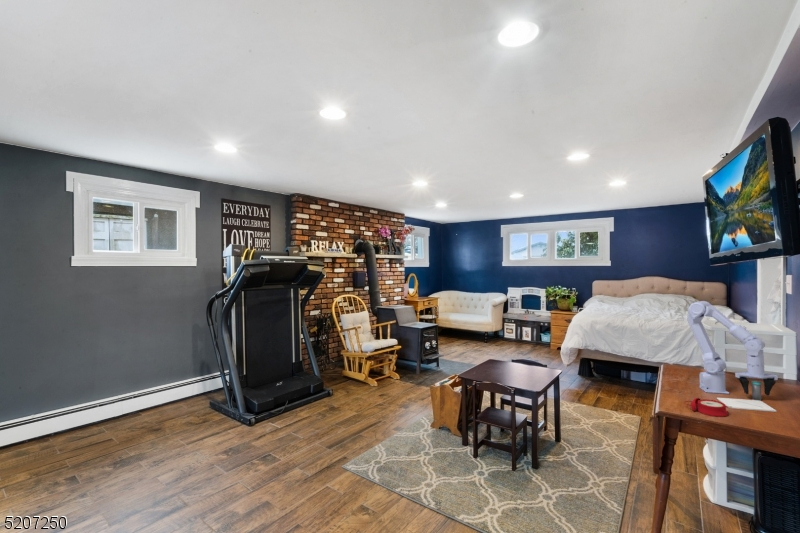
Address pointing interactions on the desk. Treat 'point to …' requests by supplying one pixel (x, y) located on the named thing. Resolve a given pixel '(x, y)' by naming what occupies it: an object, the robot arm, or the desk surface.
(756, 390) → the marker
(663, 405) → the desk surface
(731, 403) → the notepad
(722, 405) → the alarm clock
